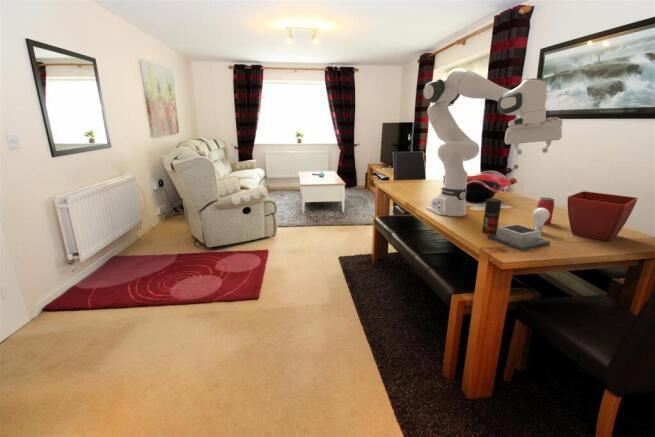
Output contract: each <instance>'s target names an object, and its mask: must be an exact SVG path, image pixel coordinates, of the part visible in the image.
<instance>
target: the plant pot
mask: <svg viewBox="0 0 655 437" xmlns="http://www.w3.org/2000/svg"><path fill="white" fill-rule="evenodd" d="M638 199H639V198H638V197H634V196H626V195H618V194H610V193H602V192H595V191H594V192H593V191H587V190H586V191H585V190H584V191H583V190H582V191H579V192H576V193H574V194H572V195H569V196H567V216H568V222H569V226H570V227H569V228H570V232H571V234H572V235H576V236H581V237H584V238H585V237H586V238H590V239H594V240H600V241H605V242H609V241H610V240H612V239H613V238H615V237H616V236H618V235H619V233H620V232H621V230H623V228H624V226H625V224H626V223H627V221H628V219H629V217H630V215H631V214H632V212H633V210H634V208H635V206H636V204H637V202H638Z"/></svg>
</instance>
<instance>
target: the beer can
mask: <svg viewBox="0 0 655 437" xmlns="http://www.w3.org/2000/svg"><path fill="white" fill-rule="evenodd" d="M537 208H545V209H547V210H548V211H549V213H550V216H549V218H548V220H547V221H545V223H544V225H549V224H551V223H552V218H553V215H554V214H553V213H554V209H555V199H554V198H552V197H545V196H544V197H543V196H542V197H540V199H539V200H538V202H537V207H536V209H537Z"/></svg>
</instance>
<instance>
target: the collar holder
mask: <svg viewBox="0 0 655 437" xmlns="http://www.w3.org/2000/svg"><path fill="white" fill-rule="evenodd" d="M541 235H542V231H540V230H536V229H535V228H532V227H530V226H525V225H522V224H518V223H513V224H507V225H503V226H498V228H497V233H496V234H490V235H488V234H487V237H486V239H488V240H490V239H491V241H493V240H494V242H496V241H497V242H496V243H498V242H499V243H498V244H501V243H502V244H501V245H504V246H506V245H507V247H510V248H512V249H514V248H515V250H517V249H518V251H520V252H525V251H529V250H532V249H537V248H543V247H546V246H549V245H550V244H551V241H550V240H547V239H544V238H541Z"/></svg>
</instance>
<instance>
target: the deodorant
mask: <svg viewBox="0 0 655 437" xmlns="http://www.w3.org/2000/svg"><path fill="white" fill-rule="evenodd" d="M501 206H502V200H501V199H497V198H487V199H486V200H485V208H484V214H483V223H482V230H481V233H482V234H484V233H485V235H488V234H496V233H498V227H499V221H500V220H499V219H500V213H501Z"/></svg>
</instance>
